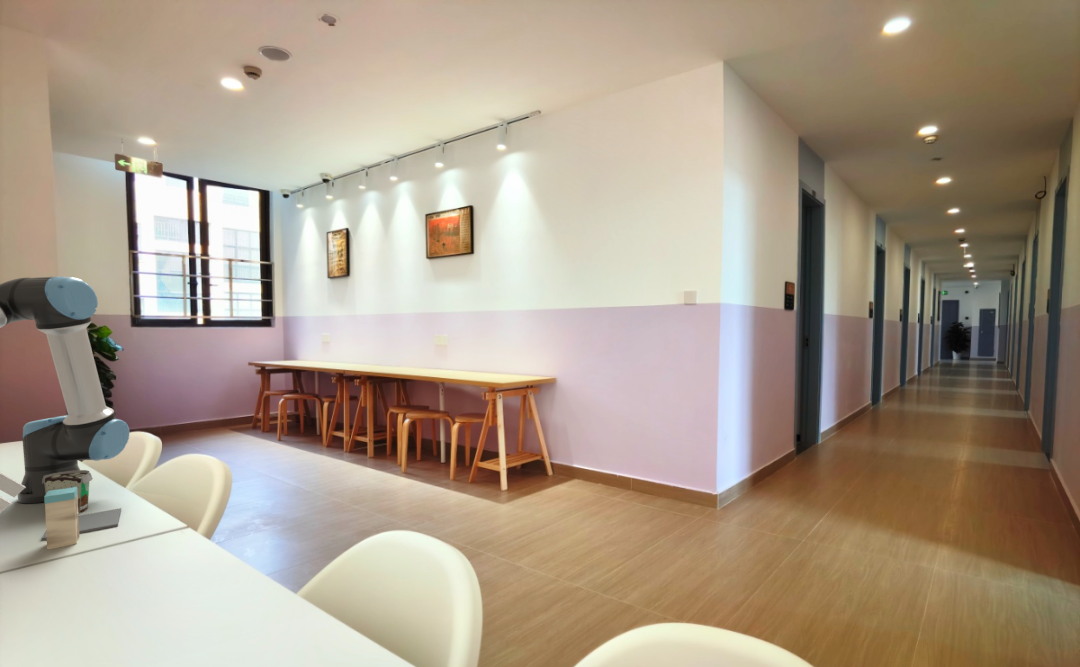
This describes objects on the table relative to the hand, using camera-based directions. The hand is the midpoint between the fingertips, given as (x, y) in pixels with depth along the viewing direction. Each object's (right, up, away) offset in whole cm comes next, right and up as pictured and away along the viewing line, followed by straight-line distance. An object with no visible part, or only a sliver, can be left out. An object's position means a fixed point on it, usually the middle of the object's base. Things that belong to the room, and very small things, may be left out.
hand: (13, 500), depth 118 cm
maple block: (+6, -12, +6) cm, 14 cm away
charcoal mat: (+1, -11, +17) cm, 20 cm away
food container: (-11, -12, +29) cm, 33 cm away
